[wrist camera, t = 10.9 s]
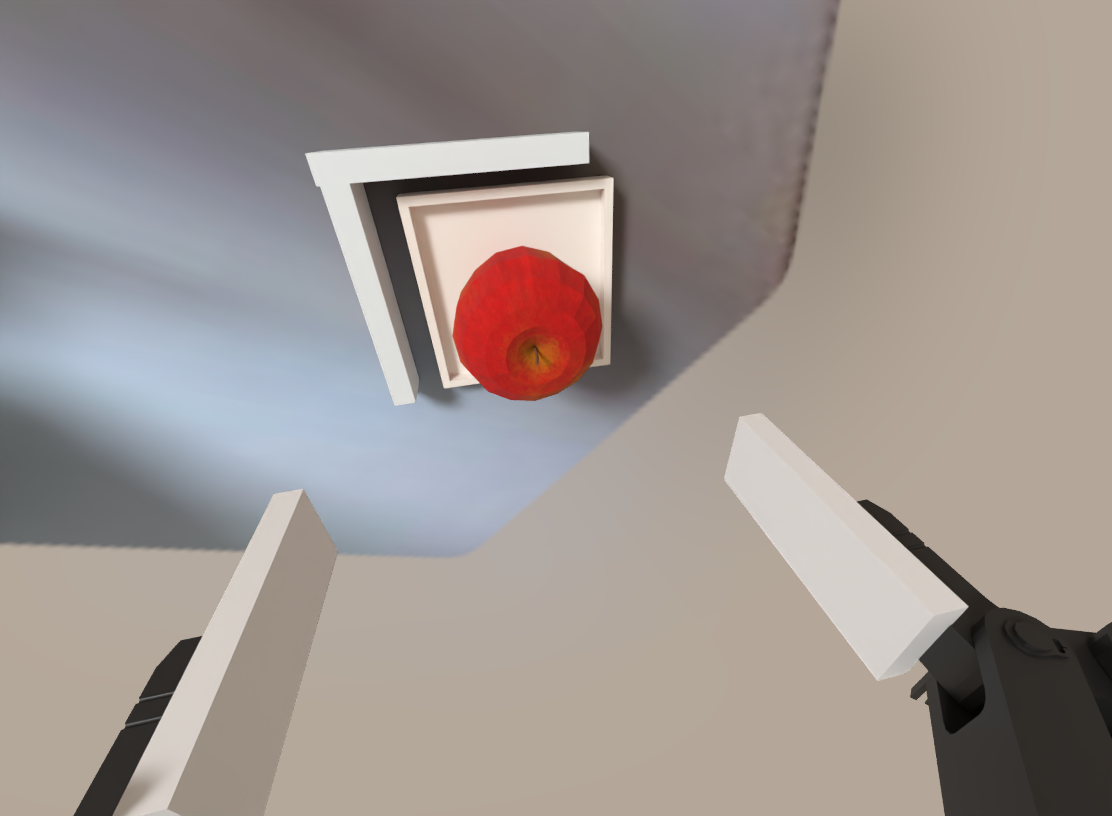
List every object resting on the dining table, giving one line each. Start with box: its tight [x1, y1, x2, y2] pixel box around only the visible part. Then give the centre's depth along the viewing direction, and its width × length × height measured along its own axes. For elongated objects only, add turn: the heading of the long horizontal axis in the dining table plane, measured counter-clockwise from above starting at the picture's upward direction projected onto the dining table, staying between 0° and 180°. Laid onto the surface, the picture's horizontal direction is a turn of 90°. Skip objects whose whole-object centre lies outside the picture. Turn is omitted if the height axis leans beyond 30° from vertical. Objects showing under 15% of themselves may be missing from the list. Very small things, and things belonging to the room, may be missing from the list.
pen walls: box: [305, 132, 589, 406], centre depth 30 cm, size 16×17×4 cm
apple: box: [452, 246, 603, 401], centre depth 27 cm, size 9×9×12 cm
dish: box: [396, 175, 613, 389], centre depth 32 cm, size 14×14×2 cm
